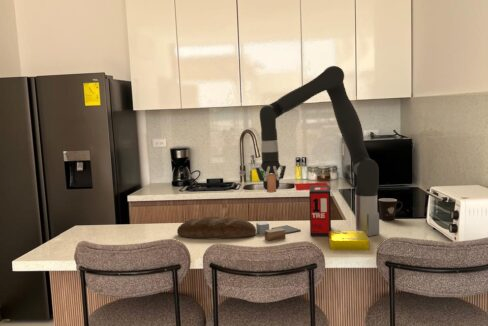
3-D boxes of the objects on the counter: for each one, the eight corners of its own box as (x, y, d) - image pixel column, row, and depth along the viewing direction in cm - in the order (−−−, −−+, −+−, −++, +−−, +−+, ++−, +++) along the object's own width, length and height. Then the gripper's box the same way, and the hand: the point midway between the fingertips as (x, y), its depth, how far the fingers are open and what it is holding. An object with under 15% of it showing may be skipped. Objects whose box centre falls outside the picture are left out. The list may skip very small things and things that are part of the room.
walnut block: (285, 238, 180) (285, 229, 179) (269, 241, 176) (269, 232, 176) (280, 236, 183) (280, 227, 183) (264, 239, 180) (264, 230, 180)
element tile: (329, 251, 161) (329, 239, 161) (328, 240, 176) (328, 229, 176) (369, 251, 159) (369, 239, 158) (365, 240, 173) (365, 229, 173)
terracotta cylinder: (277, 192, 184) (276, 174, 183) (267, 192, 183) (267, 174, 182) (275, 190, 188) (274, 173, 187) (265, 191, 187) (264, 173, 187)
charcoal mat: (300, 231, 191) (300, 229, 191) (284, 234, 186) (284, 232, 186) (286, 226, 200) (286, 225, 200) (271, 229, 196) (271, 227, 196)
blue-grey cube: (269, 233, 189) (269, 223, 189) (260, 234, 187) (259, 225, 187) (265, 231, 193) (265, 221, 193) (256, 232, 192) (256, 222, 191)
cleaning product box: (311, 227, 197) (310, 185, 195) (330, 227, 195) (330, 185, 194) (310, 236, 181) (309, 191, 179) (331, 237, 179) (330, 191, 178)
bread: (183, 231, 200) (182, 213, 199) (258, 231, 195) (257, 213, 194) (173, 240, 185) (172, 221, 184) (254, 240, 179) (253, 221, 179)
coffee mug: (378, 221, 204) (378, 201, 203) (378, 217, 212) (378, 198, 211) (404, 222, 200) (404, 201, 199) (402, 218, 209) (402, 198, 208)
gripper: (255, 152, 179) (257, 191, 181) (287, 150, 181) (289, 189, 183) (252, 151, 186) (254, 188, 188) (283, 149, 189) (284, 186, 190)
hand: (271, 188), depth 185 cm, fingers closed on terracotta cylinder, 4 cm apart
